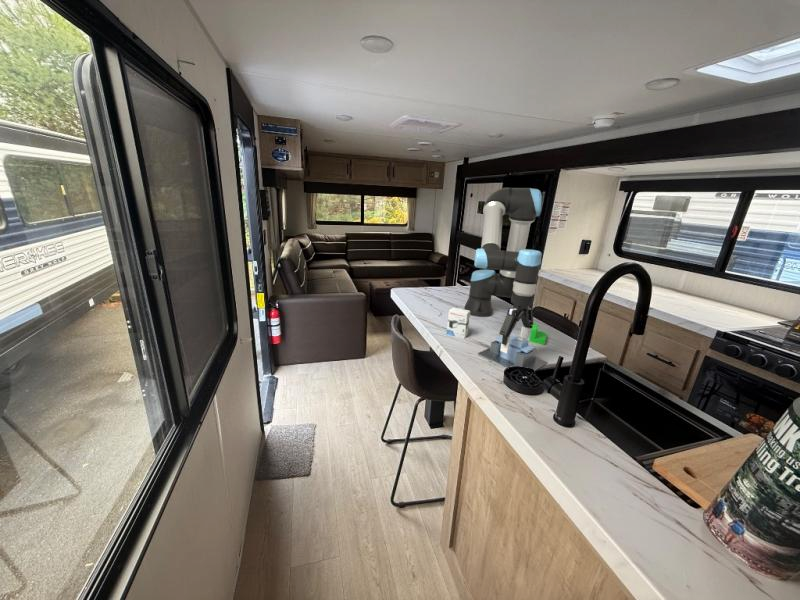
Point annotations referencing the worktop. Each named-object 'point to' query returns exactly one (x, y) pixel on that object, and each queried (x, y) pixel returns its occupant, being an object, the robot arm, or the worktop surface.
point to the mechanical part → (537, 335)
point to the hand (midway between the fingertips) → (513, 347)
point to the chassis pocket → (520, 360)
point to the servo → (515, 346)
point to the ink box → (458, 322)
